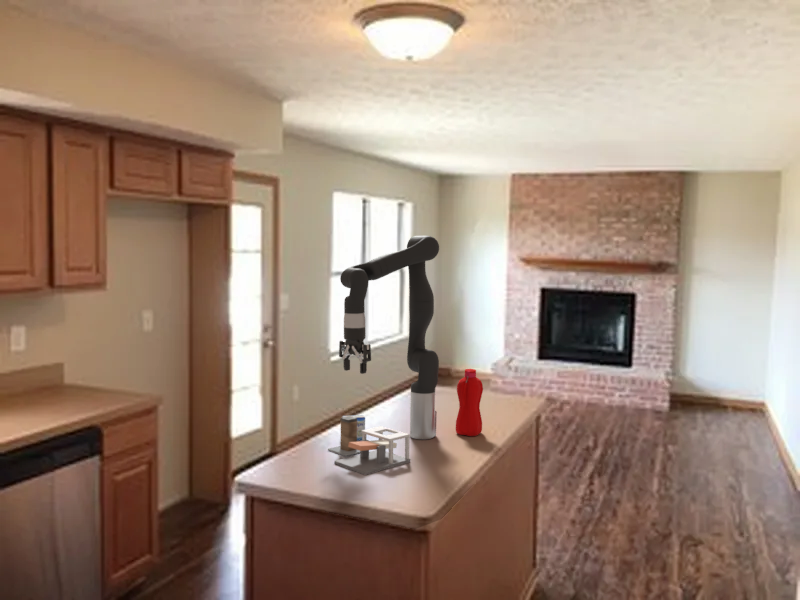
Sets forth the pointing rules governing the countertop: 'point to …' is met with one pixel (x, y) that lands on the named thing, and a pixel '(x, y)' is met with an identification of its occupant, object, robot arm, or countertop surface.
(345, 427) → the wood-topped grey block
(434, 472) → the countertop surface
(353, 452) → the mat
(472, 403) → the water bottle
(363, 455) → the white square frame
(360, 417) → the medicine box
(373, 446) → the rocker
